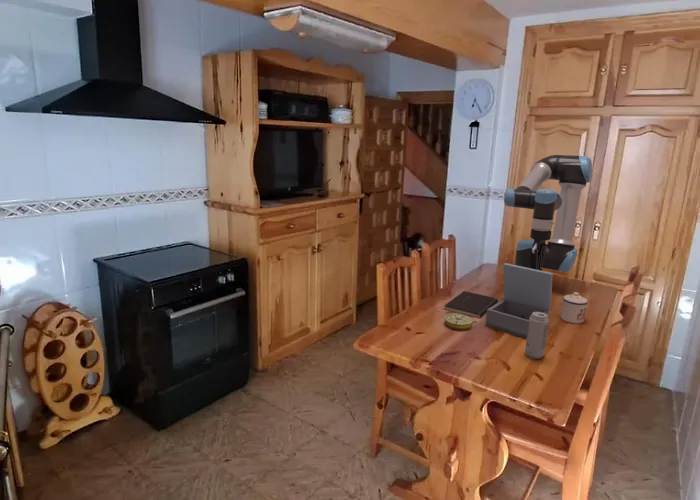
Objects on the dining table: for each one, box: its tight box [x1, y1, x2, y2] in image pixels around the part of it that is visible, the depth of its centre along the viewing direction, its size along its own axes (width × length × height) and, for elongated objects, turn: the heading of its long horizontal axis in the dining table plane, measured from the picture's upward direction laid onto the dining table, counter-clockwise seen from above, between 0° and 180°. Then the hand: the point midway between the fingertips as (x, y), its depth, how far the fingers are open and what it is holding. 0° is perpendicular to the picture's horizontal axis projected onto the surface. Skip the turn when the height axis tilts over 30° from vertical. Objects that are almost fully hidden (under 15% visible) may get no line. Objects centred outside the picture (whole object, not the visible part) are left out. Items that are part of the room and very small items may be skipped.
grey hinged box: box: [485, 298, 550, 340], centre depth 177 cm, size 16×18×7 cm
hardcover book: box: [443, 290, 499, 319], centre depth 198 cm, size 16×23×2 cm
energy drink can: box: [524, 312, 550, 360], centre depth 153 cm, size 6×6×15 cm
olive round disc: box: [444, 313, 474, 331], centre depth 177 cm, size 10×11×4 cm
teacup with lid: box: [560, 291, 588, 324], centre depth 186 cm, size 12×9×12 cm
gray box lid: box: [503, 262, 554, 312], centre depth 179 cm, size 16×18×1 cm
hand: (533, 285), depth 185 cm, fingers closed
